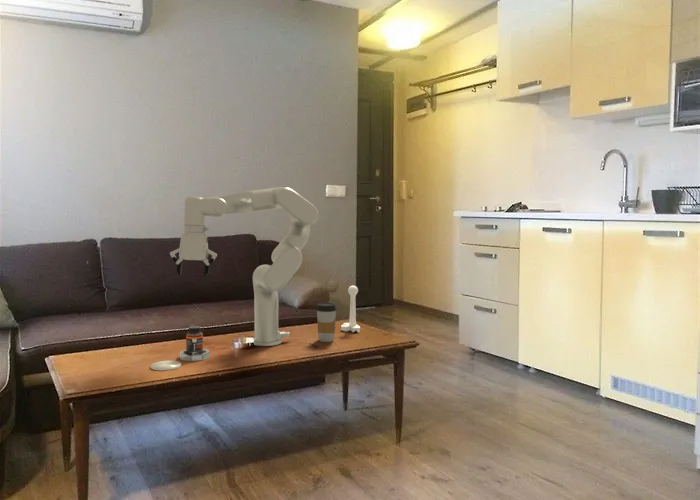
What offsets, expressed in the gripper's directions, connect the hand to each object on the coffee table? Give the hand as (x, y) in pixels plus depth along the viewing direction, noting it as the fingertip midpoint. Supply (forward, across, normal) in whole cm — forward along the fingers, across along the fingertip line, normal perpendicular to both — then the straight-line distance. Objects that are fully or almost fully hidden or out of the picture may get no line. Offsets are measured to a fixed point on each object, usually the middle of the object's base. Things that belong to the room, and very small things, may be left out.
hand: (193, 275), depth 220 cm
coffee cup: (+27, -52, -15) cm, 61 cm away
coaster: (+30, +5, +20) cm, 36 cm away
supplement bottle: (+29, -3, +8) cm, 31 cm away
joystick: (+26, -63, -33) cm, 75 cm away
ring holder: (+29, -3, +8) cm, 30 cm away
